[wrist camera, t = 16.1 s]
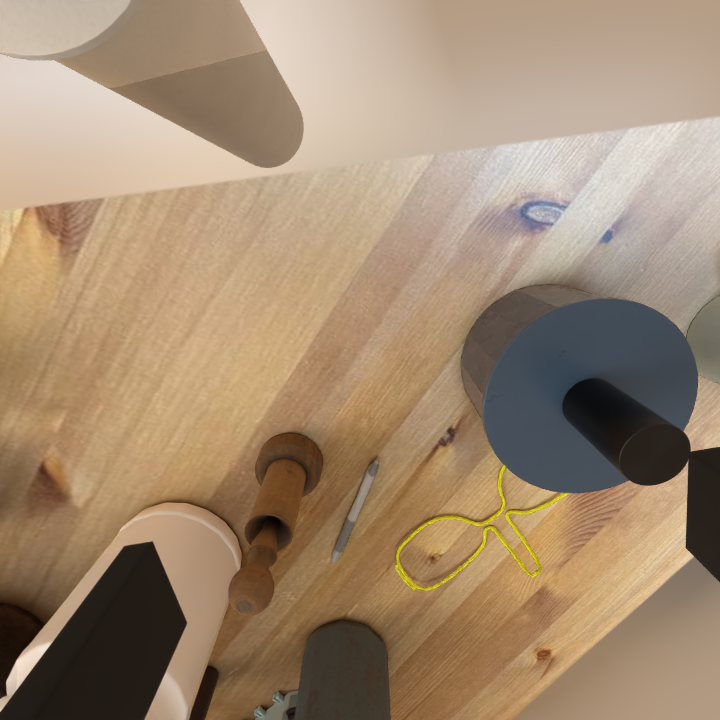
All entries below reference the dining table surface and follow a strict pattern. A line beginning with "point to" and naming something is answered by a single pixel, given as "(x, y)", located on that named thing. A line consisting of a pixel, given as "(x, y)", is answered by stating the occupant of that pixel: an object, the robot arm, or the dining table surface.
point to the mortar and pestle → (274, 515)
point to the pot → (506, 330)
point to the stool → (276, 716)
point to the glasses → (483, 538)
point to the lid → (592, 397)
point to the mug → (707, 340)
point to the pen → (355, 510)
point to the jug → (14, 638)
